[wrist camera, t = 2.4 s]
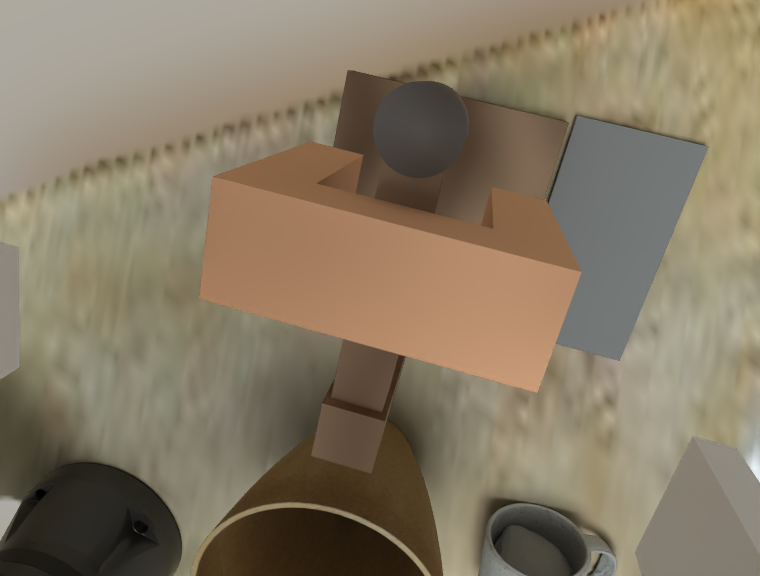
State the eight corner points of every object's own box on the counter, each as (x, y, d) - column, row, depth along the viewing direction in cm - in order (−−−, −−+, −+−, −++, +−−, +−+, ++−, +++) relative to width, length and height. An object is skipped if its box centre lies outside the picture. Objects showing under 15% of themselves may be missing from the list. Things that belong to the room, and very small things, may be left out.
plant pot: (476, 516, 48) (472, 711, 33) (308, 531, 52) (236, 713, 37) (437, 353, 44) (412, 493, 29) (256, 381, 47) (152, 519, 33)
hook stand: (315, 268, 43) (164, 435, 23) (355, 56, 38) (205, 29, 18) (501, 318, 42) (515, 540, 22) (570, 106, 37) (672, 140, 17)
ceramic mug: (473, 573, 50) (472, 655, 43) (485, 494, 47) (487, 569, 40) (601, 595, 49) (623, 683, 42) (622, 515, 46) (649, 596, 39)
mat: (506, 326, 42) (506, 330, 42) (576, 115, 37) (577, 115, 36) (617, 356, 42) (619, 360, 41) (705, 145, 36) (708, 146, 36)
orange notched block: (297, 223, 29) (199, 298, 19) (311, 141, 27) (212, 176, 17) (519, 282, 28) (537, 392, 18) (546, 200, 26) (581, 272, 16)
